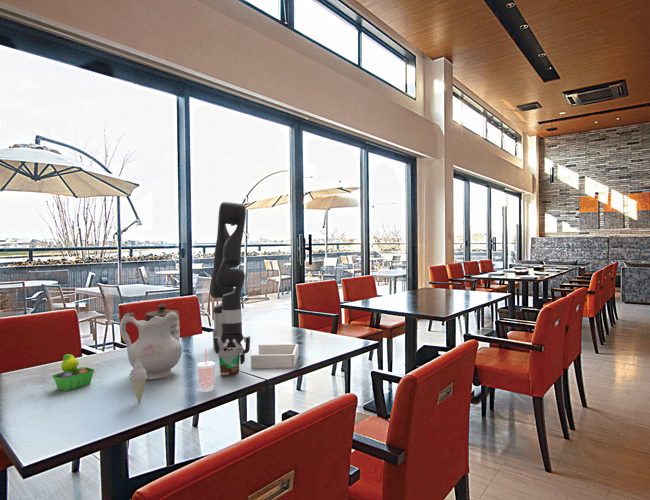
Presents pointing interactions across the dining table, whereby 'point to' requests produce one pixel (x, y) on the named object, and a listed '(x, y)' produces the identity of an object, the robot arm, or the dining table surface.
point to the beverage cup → (206, 374)
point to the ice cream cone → (138, 379)
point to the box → (275, 356)
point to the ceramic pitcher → (153, 344)
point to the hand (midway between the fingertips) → (232, 363)
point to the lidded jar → (161, 313)
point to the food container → (229, 361)
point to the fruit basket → (72, 374)
